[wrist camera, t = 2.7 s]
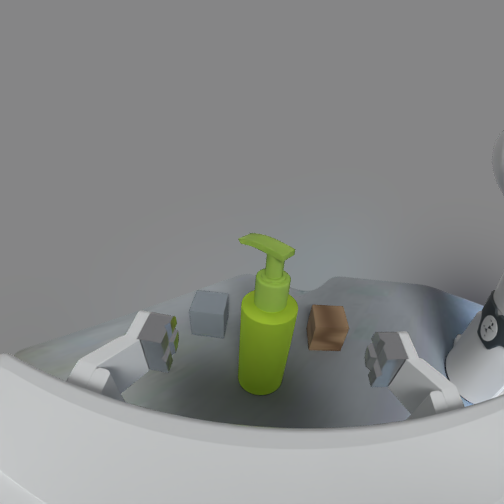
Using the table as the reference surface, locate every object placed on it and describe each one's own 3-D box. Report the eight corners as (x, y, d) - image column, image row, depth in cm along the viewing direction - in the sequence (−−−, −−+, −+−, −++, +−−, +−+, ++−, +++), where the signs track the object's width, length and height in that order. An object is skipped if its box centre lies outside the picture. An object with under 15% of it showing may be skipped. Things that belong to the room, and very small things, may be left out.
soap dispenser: (252, 351, 39) (263, 223, 29) (290, 376, 35) (320, 246, 26) (223, 373, 35) (222, 240, 25) (262, 403, 31) (285, 270, 22)
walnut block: (335, 329, 44) (343, 306, 42) (340, 351, 40) (349, 328, 37) (306, 327, 44) (312, 304, 42) (308, 350, 40) (315, 326, 37)
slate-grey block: (228, 317, 46) (228, 293, 43) (223, 338, 41) (223, 314, 39) (198, 313, 46) (197, 290, 43) (191, 334, 41) (189, 310, 39)
